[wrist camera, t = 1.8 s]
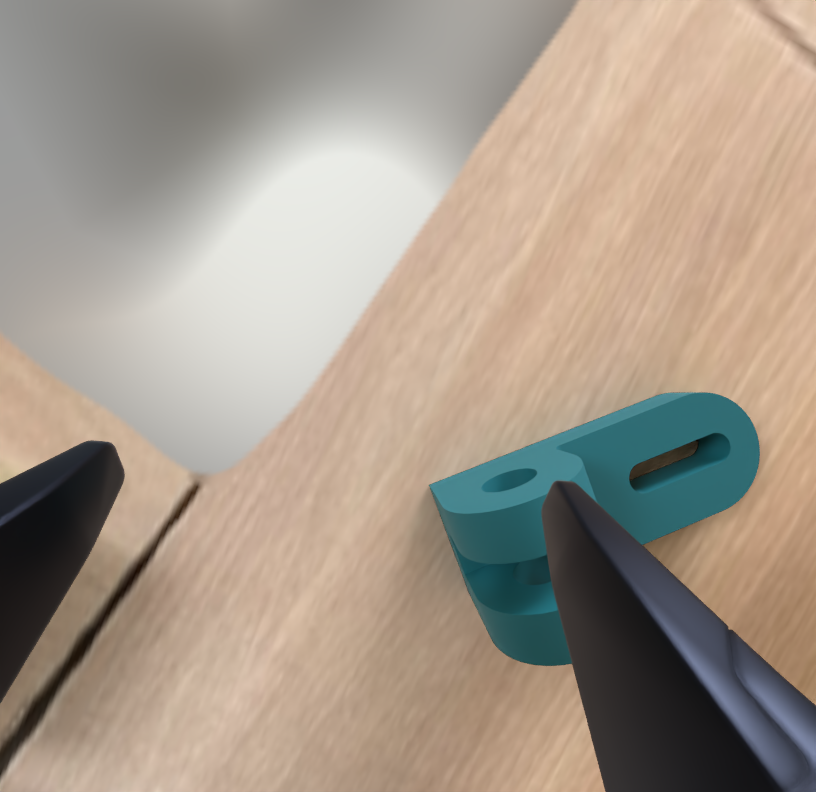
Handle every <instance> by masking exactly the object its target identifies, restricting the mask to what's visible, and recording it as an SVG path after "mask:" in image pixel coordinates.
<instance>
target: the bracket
mask: <svg viewBox="0 0 816 792" xmlns="http://www.w3.org/2000/svg"><path fill="white" fill-rule="evenodd" d="M697 439H698V442H699V444H698V448H697V451H696V452H695V453H694V454H693V455H691V456H689V457H687V458H684V459H682V460H679V461H677V462H675V463H672V464H670V465H667V466H665V467H662V468H660V469H657V470H655V471H653V472H650V473H648V474H645V475H643V476H640V477H638V478H635V479H633V480H631V481H629V475H630V471H631V470H632V468H633V467H634V466H635V465H636V464H638V463H641V462H643V461H646V460H648V459H651V458H653V457H656V456H658V455H660V454H663V453H665V452H668V451H670V450H673V449H675V448H678V447H680V446H683V445H685V444H688V443H690V442H692V441H695V440H697ZM759 456H760V449H759V441H758V436H757V433H756V430H755V428H754V425H753V423H752V422H751V420H750V418H749V417H748V415H747V414H746V413H745V412H744V411H743V410H742V408H741V407H739V406H738V405H737V404H736V403H734V402H733V401H731V400H730V399H728V398H726V397H723V396H721V395H717V394H713V393H665V394H660V395H657V396H654V397H652V398H649V399H647V400H644V401H642V402H639V403H636V404H634V405H631V406H629V407H626V408H624V409H621V410H619V411H616V412H614V413H611V414H608V415H606V416H603V417H601V418H598V419H596V420H593V421H591V422H588V423H586V424H583V425H581V426H578V427H575V428H573V429H570V430H568V431H565V432H563V433H560V434H558V435H555V436H553V437H550V438H547V439H545V440H542V441H540V442H537V443H535V444H532V445H530V446H527V447H525V448H522V449H519V450H517V451H514V452H512V453H509V454H507V455H504V456H502V457H499V458H497V459H494V460H491V461H489V462H486V463H484V464H481V465H479V466H476V467H474V468H471V469H469V470H466V471H464V472H461V473H458V474H456V475H453V476H451V477H448V478H446V479H443V480H441V481H438V482H436V483H433V484H430V485H429V486H430V489H431V492H432V494H433V497H434V500H435V502H436V505H437V508H438V511H439V513H440V516H441V519H442V521H443V524H444V527H445V529H446V532H447V535H448V538H449V540H450V543H451V546H452V548H453V551H454V554H455V556H456V559H457V562H458V564H459V567H460V570H461V573H462V575H463V578H464V581H465V583H466V586H467V589H468V591H469V594H470V596H471V598H472V600H473V602H474V604H475V606H476V608H477V610H478V612H479V614H480V617H481V619H482V621H483V623H484V625H485V627H486V629H487V631H488V633H489V635H490V637H491V639H492V641H493V643H494V644H495V645H496V647H497V648H498V649H499V650H500V651H501V652H503V653H504V654H506V655H507V656H509V657H511V658H513V659H515V660H518V661H520V662H524V663H527V664H533V665H542V666H557V665H566V664H572V661H571V657H570V653H569V649H568V646H567V642H566V638H565V634H564V630H563V626H562V623H561V619H560V615H559V611H558V607H557V603H556V600H555V596H554V591H553V587H552V582H551V577H550V571H549V564H548V557H547V550H546V543H545V537H544V530H543V523H542V516H541V510H542V505H543V503H544V500H545V498H546V496H547V494H548V492H549V490H550V487H551V485H552V484H553V482H554V481H556V480H562V481H572V482H575V483H576V484H578V485H579V486H580V487H581V488H582V489H583V490H584V491H585V492H586V493H587V494H588V495H589V496H590V497H592V498H593V499H594V500H595V501H596V502H597V503H598V504H599V505H600V506H601V507H602V508H603V509H604V510H605V511H606V512H607V513H609V514H610V515H611V516H612V517H613V518H614V519H615V520H616V521H617V522H618V523H619V524H620V525H621V526H622V527H623V528H624V529H625V530H627V531H628V532H629V533H630V534H631V535H632V536H633V537H634V538H635V539H636V540H637V541H638V542H639V543H640V544H641V545H643V544H646V543H648V542H650V541H653V540H655V539H657V538H660V537H662V536H664V535H667V534H669V533H672V532H674V531H676V530H679V529H681V528H683V527H686V526H688V525H690V524H693V523H695V522H697V521H700V520H702V519H705V518H707V517H709V516H712V515H714V514H716V513H719V512H721V511H723V510H725V509H727V508H729V507H731V506H732V505H734V504H735V503H736V502H738V501H739V500H740V499H741V498H742V497H743V496H744V494H745V493H746V492H747V491H748V489H749V488H750V486H751V484H752V482H753V480H754V478H755V476H756V473H757V469H758V465H759Z"/></svg>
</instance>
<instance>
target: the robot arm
mask: <svg viewBox="0 0 816 792" xmlns="http://www.w3.org/2000/svg"><path fill="white" fill-rule="evenodd" d="M124 476H125V474H124V469H123V466H122V464H121V461H120V459H119V456H118V453H117V451H116V448H115V446H114V445H113V444H112V443H110V442H104V441H86V442H83V443H81V444H79V445H77V446H75V447H73V448H71V449H69V450H67V451H65V452H63V453H61V454H59V455H57V456H55V457H53V458H51V459H49V460H47V461H45V462H43V463H41V464H39V465H37V466H35V467H33V468H31V469H29V470H27V471H25V472H23V473H21V474H19V475H17V476H15V477H13V478H11V479H9V480H7V481H5V482H3V483H1V484H0V703H1V702H2V700H3V698H4V697H5V695H6V693H7V692H8V690H9V688H10V687H11V685H12V683H13V682H14V680H15V678H16V677H17V675H18V673H19V672H20V670H21V668H22V667H23V665H24V663H25V662H26V660H27V658H28V657H29V655H30V653H31V652H32V650H33V648H34V647H35V645H36V643H37V642H38V640H39V638H40V637H41V635H42V633H43V632H44V630H45V628H46V627H47V625H48V623H49V622H50V620H51V618H52V617H53V615H54V613H55V612H56V610H57V608H58V606H59V605H60V603H61V601H62V600H63V598H64V596H65V595H66V593H67V591H68V590H69V588H70V586H71V585H72V583H73V581H74V580H75V578H76V576H77V575H78V573H79V571H80V570H81V568H82V566H83V565H84V563H85V561H86V559H87V558H88V556H89V554H90V552H91V550H92V548H93V546H94V544H95V542H96V540H97V538H98V536H99V534H100V532H101V530H102V527H103V525H104V523H105V521H106V519H107V517H108V514H109V512H110V510H111V508H112V506H113V504H114V501H115V499H116V497H117V495H118V493H119V491H120V489H121V486H122V484H123V481H124ZM541 516H542V523H543V530H544V537H545V543H546V550H547V557H548V564H549V571H550V577H551V582H552V587H553V591H554V596H555V600H556V603H557V607H558V611H559V615H560V619H561V623H562V626H563V630H564V634H565V638H566V642H567V646H568V649H569V653H570V657H571V661H572V665H573V669H574V672H575V676H576V680H577V684H578V688H579V692H580V695H581V699H582V703H583V707H584V711H585V715H586V718H587V722H588V726H589V730H590V734H591V738H592V741H593V745H594V749H595V753H596V757H597V761H598V764H599V768H600V772H601V776H602V780H603V784H604V787H605V791H606V792H816V705H815V704H813V703H812V702H811V701H810V700H809V699H808V698H806V697H805V696H804V695H803V694H802V693H801V692H800V691H798V690H797V689H796V688H795V687H794V686H793V685H791V684H790V683H789V682H788V681H787V680H786V679H785V678H784V677H782V676H781V675H780V674H779V673H778V672H777V671H776V670H775V669H774V668H773V667H772V666H770V665H769V664H768V663H767V662H766V661H765V660H764V659H763V658H762V657H761V656H760V655H758V654H757V653H756V652H755V651H754V650H753V649H752V648H751V647H750V646H749V645H748V644H747V643H746V642H744V641H743V640H742V639H741V638H740V637H739V636H738V635H737V634H736V633H735V632H734V631H733V630H729V629H728V626H727V625H726V624H725V623H724V622H723V621H722V620H721V619H720V618H719V617H718V616H717V615H716V614H715V613H714V612H712V611H711V610H710V609H709V608H708V607H707V606H706V605H705V604H704V603H703V602H702V601H701V600H700V599H699V598H698V597H697V596H695V595H694V594H693V593H692V592H691V591H690V590H689V589H688V588H687V587H686V586H685V585H684V584H683V583H682V582H681V581H680V580H679V579H677V578H676V577H675V576H674V575H673V574H672V573H671V572H670V571H669V570H668V569H667V568H666V567H665V566H664V565H663V564H662V563H660V562H659V561H658V560H657V559H656V558H655V557H654V556H653V555H652V554H651V553H650V552H649V551H648V550H647V549H646V548H645V547H644V546H642V545H641V544H640V543H639V542H638V541H637V540H636V539H635V538H634V537H633V536H632V535H631V534H630V533H629V532H628V531H627V530H625V529H624V528H623V527H622V526H621V525H620V524H619V523H618V522H617V521H616V520H615V519H614V518H613V517H612V516H611V515H610V514H609V513H607V512H606V511H605V510H604V509H603V508H602V507H601V506H600V505H599V504H598V503H597V502H596V501H595V500H594V499H593V498H592V497H590V496H589V495H588V494H587V493H586V492H585V491H584V490H583V489H582V488H581V487H580V486H579V485H578V484H576V483H575V482H572V481H562V480H556V481H554V482H553V484H552V485H551V487H550V490H549V492H548V494H547V496H546V498H545V500H544V503H543V505H542V510H541Z"/></svg>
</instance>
